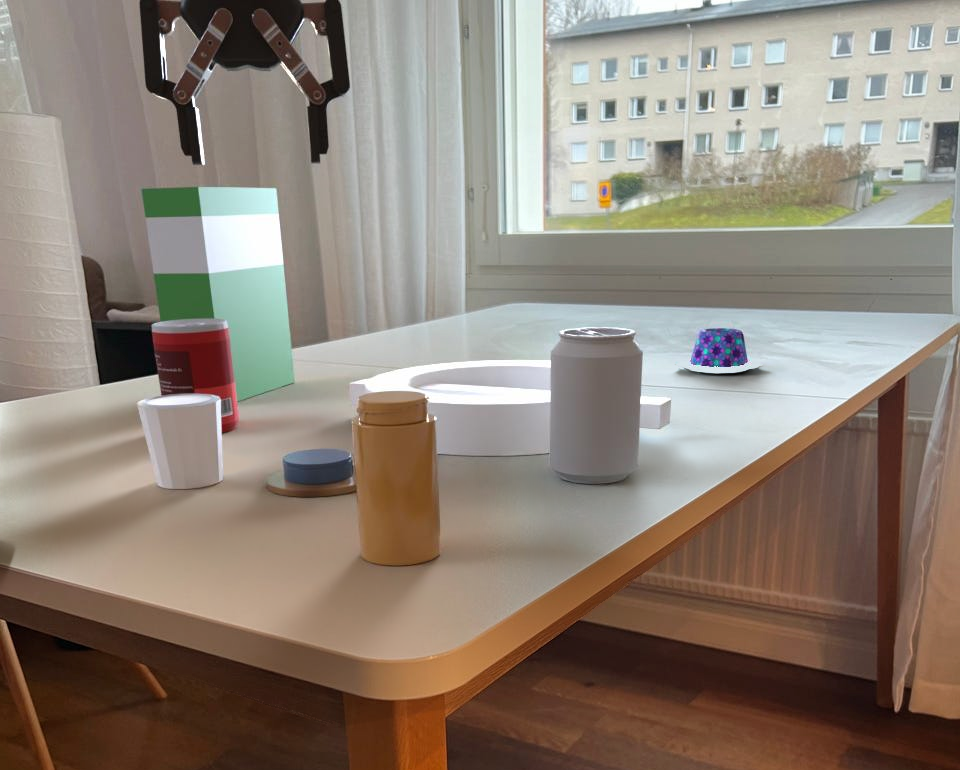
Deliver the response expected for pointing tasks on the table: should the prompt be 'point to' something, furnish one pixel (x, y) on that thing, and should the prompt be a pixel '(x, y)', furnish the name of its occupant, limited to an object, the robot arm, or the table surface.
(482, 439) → the white circle with bar
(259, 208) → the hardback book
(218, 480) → the white faceted cup
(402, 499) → the jar
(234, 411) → the canned food
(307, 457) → the lid
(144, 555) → the table surface
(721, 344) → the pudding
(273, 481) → the coaster
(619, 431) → the can
